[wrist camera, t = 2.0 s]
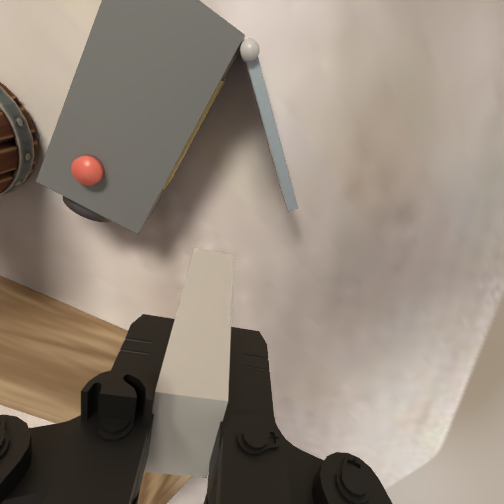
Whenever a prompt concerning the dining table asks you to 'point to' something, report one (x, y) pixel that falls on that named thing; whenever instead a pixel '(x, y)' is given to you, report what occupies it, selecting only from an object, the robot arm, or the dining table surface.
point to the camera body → (136, 105)
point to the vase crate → (59, 364)
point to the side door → (268, 119)
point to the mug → (15, 142)
